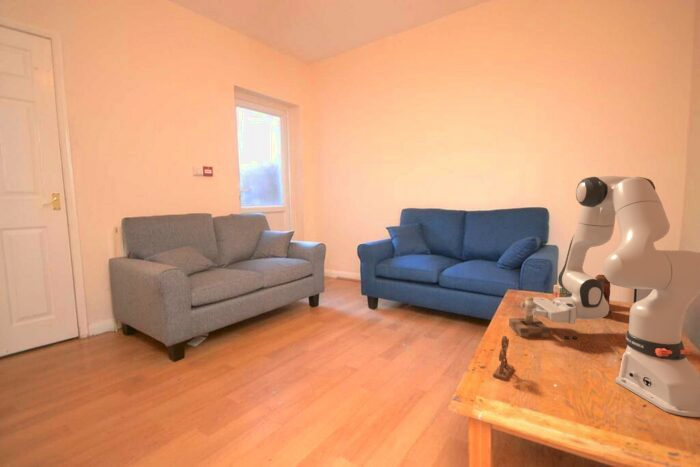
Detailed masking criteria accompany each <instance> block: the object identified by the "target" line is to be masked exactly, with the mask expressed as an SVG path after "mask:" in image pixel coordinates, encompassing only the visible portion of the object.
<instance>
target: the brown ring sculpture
mask: <svg viewBox="0 0 700 467" xmlns="http://www.w3.org/2000/svg"><path fill="white" fill-rule="evenodd" d="M509 344H510V342H509V338H508V337H507V335H503V336H502V338H501V348H500V351H499V353H498V354H499V355H498V361H499V362H500V364H499V365H498V366H497V368H496V369H495V370H494V372H493V373H492V377H493V378H495V379H499V380H502V381H505V382H506V381H508V378H509V377H510V375H511V374H512V373H513V371H514V368H515V367H514V366H513V365H510V364H508V358H507V351H508V348H509Z"/></svg>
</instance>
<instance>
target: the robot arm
mask: <svg viewBox="0 0 700 467" xmlns="http://www.w3.org/2000/svg"><path fill="white" fill-rule="evenodd" d="M575 196H576V197H575V198H576V201H577V202H578V203H579V205H580V206H581V209H580V212H579V216H578V220H577V221H578V222H577V227H576V231H575V234H574V235H573V236H572V238H571V240H570V244H569V248H568V251H567V254H566V258H565V262H564V265H563V267H562V270H561V271H560V273H559V275H558V277H557V280H558V285H560V286H561V287H562V288H563V289H565V290H567V291H569V292H571V293H572V296H571V297H556V298H554V300H553V299H552V300H550V299H548V298H546V297H541V296H540V297H538V296H537V297H536V296H535V297H533V296H532V298H533V310H532V314H533V317H535V316H537V317H538V316H539V317H543V318H546V319H547V320H549V321H551V322H554V323H562V324H563V323H565V324H566V323H567V324H569V325H570V324H572V325H573V324H576V320H577V319H579V320H584V321H585V320H598V319H603V318H606V317H607V316H606V315H607V314H608V315H609V312H610V303H609V304H608V302H607V301H606V300H605V298H604V294H603V293H604V287H603V284H602V283H601V282H600V281H599V280H597V279H595V277H593V276H592V275H590V274H587V273H585V270H584V269H583V266H584V262H585V259H586V256H587V252H588V250H589V249H590V248H595V247H599V246H604V245H605V244H607V243H608V242H609V241H611V238H612V236H613V234H614V230H615V224H616V220H617V223H618V227H619V233H620V240H619V243H618V246H617V247H616V249H614V250H613V251H612V252H611V253H609V254H608V255H607V256H606V258H605V259H604V261H603V264H602V273H603V275H605V277H606V279H607V280H608V281H609V282H610V285H613V286H616V287H617V286H618V287H622V288H626V289H632V290H635V289H636V290H652V291H650V293H649V294H648V295H647V296H645V297H644V298H642V299H640V300H637V301H635V302H634V303H633V304H632V305H631V307H630V308H629V320H628V330H626V334H625V344H626V348H625V351H624V352H623V355H622V358H621V363H620V368H619V372H618V375H617V376H616V377H615V383H616V384H618V385H620V386H622V387H623V388H625V389H627V390H629V391H630V392H632V393H634V394H636V395H637V396H639V397H640V398H642V399H643V400H645V401H647V402H649V403H651V404H653V405H654V406H656V407H657V408H660V409H661V410H662V411H664V412H666V413H669V414H673V415H678V416H682V417H689V418H690V417H691V418H700V373H699V372H698V370H697V369H696V368H695V367H694V366H693V365H692V363H691V362H690V361H689V360H688V358H687V355H691V353H690V352H691V350H690V349H685V345H684V343H683V341H682V332H683V324H684V320H685V314H686V313H687V310H688V309H689V307H690V305H692V303H693V301H694V300H696V299H697V297H698V296H699V295H700V252H697V251H691V250H667V249H666V250H665V249H664V250H658V249H656V247H655V244H654V243H655V242H658V241H659V240H662V239H663V238H664V237H665V236H667V235H668V233H669V231H670V228H671V227H670V226H671V225H670V222H669V219H668V217H667V214H666V211H665V208H664V206H663V203H662V201H661V198H660V196H659V195H658V192H657V191H656V186H655V184H654V182H653V180H651V179H650V178H647V177H642V176H634V177H633V176H617V175H609V176H608V175H606V176H598V177H597V176H590V177H586V178H583V179H581V181H579V183H578V184H577V187H576V189H575ZM520 306H521V308H524V309H525V301H524V302H520ZM605 316H606V317H605Z"/></svg>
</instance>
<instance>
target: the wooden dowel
mask: <svg viewBox="0 0 700 467" xmlns="http://www.w3.org/2000/svg"><path fill="white" fill-rule="evenodd" d="M532 297H533V296H532ZM532 297H530V296H526V297H524V298H525V301H524V302H525V308H524V318H525V325H533V318H534V315H533V314H532V310H534V309H533V298H532Z"/></svg>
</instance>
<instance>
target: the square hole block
mask: <svg viewBox="0 0 700 467" xmlns="http://www.w3.org/2000/svg"><path fill="white" fill-rule="evenodd" d="M508 321H509V322H508V326H510V327H511V328H512V329H511V328H510V327H509V328H510V329H511V330H512V331H513V332H515V333H516V334H517V336H519V337H520V338H550V336H551V328H550V326H548V325H546V324H545V323H544V322H542V321H541V320H539V319H538V318H535V317H533V325H525V317H522V318H521V317H517V318H516V317H515V318H514V317H513V318H512V317H510V318H508Z"/></svg>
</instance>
